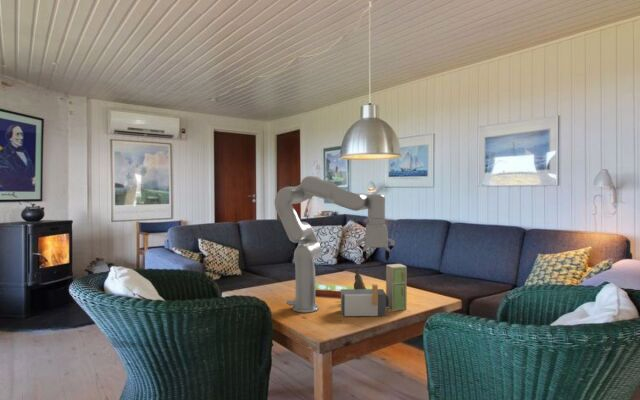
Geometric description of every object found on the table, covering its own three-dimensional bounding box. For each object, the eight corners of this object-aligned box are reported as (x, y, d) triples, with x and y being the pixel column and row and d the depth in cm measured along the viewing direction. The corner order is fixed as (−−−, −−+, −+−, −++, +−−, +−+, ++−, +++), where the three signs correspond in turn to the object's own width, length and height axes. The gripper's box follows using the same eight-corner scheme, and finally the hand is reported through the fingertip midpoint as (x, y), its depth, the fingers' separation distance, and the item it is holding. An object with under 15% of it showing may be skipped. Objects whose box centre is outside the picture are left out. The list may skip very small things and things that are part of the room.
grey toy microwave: (342, 316, 182) (342, 293, 182) (340, 310, 191) (341, 288, 191) (389, 316, 183) (389, 293, 182) (385, 309, 192) (385, 287, 191)
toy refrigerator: (392, 311, 189) (392, 267, 188) (385, 307, 196) (385, 264, 195) (407, 310, 191) (407, 266, 190) (400, 305, 198) (400, 263, 198)
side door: (345, 317, 179) (345, 285, 178) (344, 315, 182) (344, 283, 182) (378, 317, 179) (378, 285, 178) (377, 315, 182) (377, 283, 182)
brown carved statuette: (352, 305, 208) (347, 270, 210) (360, 303, 211) (355, 268, 213) (366, 306, 198) (361, 269, 200) (375, 304, 201) (369, 268, 203)
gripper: (357, 222, 175) (357, 261, 176) (397, 222, 175) (396, 261, 176) (356, 221, 183) (355, 258, 183) (393, 221, 183) (393, 258, 184)
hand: (375, 259), depth 180 cm, fingers open, 9 cm apart
